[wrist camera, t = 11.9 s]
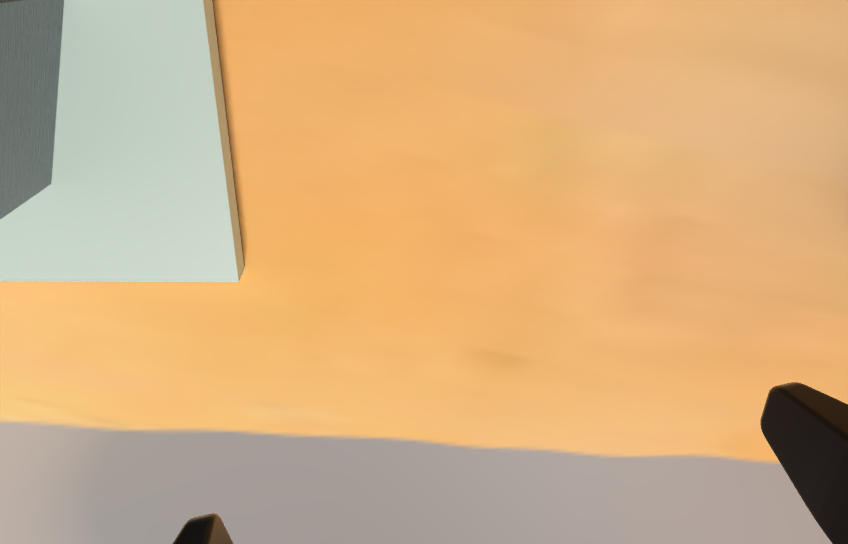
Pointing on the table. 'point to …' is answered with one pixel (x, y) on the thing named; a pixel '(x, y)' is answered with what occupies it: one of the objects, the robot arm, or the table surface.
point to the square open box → (28, 97)
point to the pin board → (133, 154)
